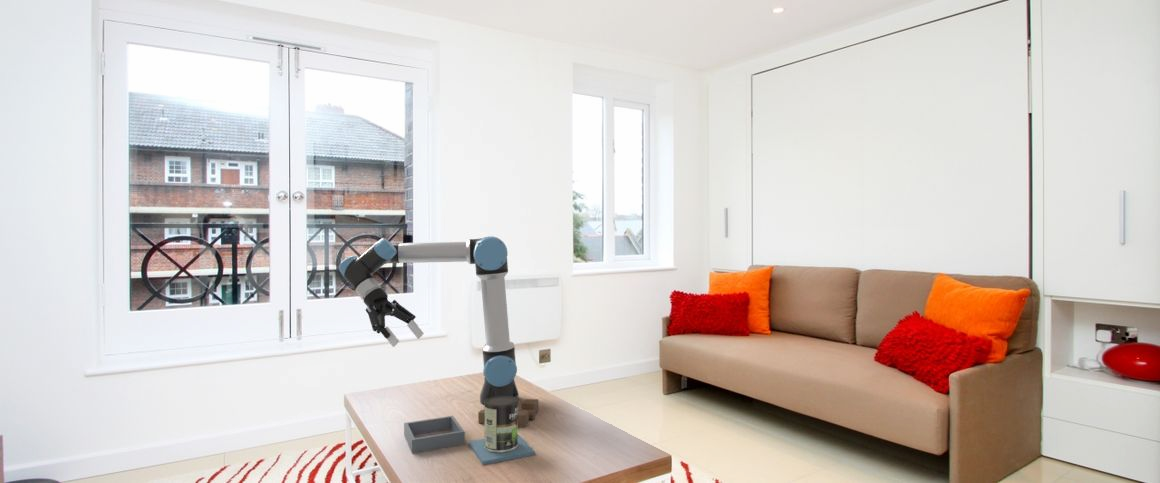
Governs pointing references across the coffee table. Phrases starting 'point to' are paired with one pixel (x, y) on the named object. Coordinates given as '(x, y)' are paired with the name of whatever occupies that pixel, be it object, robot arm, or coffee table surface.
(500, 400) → the coffee can
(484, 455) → the board
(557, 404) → the coffee table surface
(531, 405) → the wooden block set
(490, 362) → the robot arm
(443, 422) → the bin
